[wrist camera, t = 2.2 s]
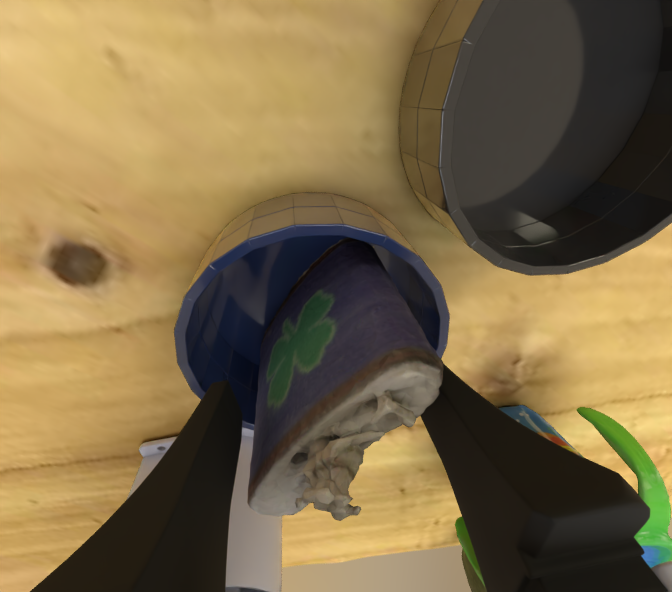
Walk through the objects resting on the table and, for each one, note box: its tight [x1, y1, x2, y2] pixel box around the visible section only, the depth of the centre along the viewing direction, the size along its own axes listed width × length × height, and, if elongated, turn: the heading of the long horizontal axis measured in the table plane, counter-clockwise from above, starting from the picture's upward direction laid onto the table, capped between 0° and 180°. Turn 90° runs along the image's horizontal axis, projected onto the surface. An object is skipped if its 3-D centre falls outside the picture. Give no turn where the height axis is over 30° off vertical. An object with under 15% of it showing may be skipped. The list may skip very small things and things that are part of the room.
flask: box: [247, 237, 443, 521], centre depth 13 cm, size 9×3×11 cm, turn 142°
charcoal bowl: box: [399, 0, 672, 276], centre depth 12 cm, size 12×12×4 cm
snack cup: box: [455, 405, 672, 586], centre depth 23 cm, size 16×10×10 cm
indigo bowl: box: [174, 192, 450, 431], centre depth 16 cm, size 12×12×4 cm
